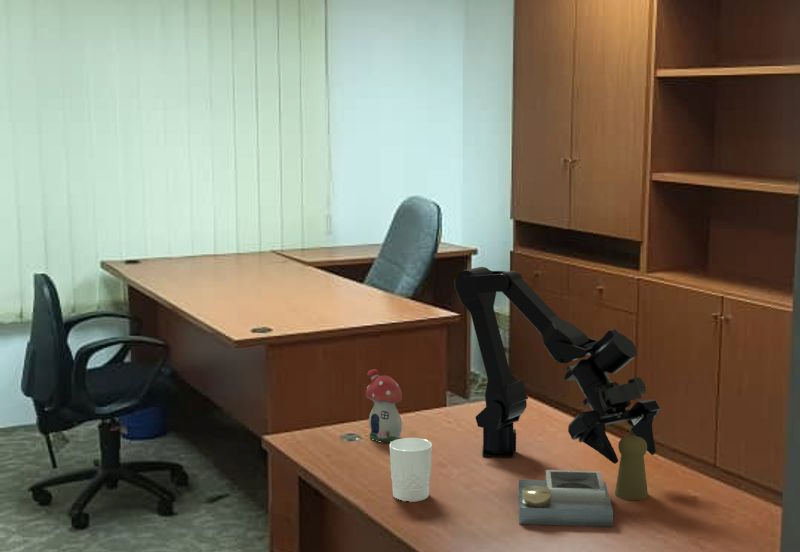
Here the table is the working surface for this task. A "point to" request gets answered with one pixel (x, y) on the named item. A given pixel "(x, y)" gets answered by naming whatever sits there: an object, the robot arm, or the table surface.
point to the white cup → (410, 468)
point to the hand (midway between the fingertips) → (635, 458)
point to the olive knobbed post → (632, 469)
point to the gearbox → (565, 500)
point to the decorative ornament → (384, 407)
